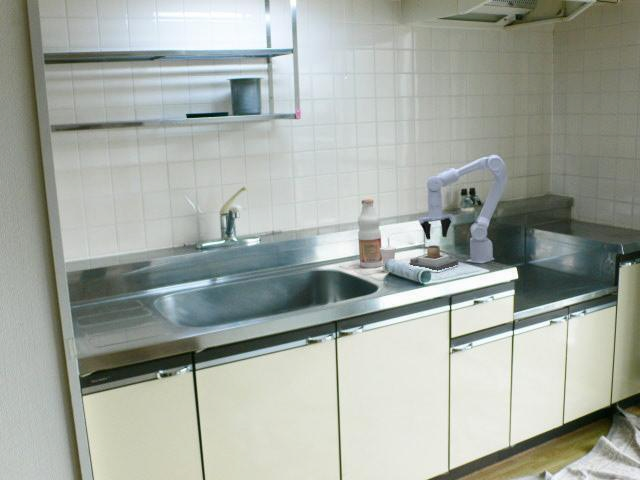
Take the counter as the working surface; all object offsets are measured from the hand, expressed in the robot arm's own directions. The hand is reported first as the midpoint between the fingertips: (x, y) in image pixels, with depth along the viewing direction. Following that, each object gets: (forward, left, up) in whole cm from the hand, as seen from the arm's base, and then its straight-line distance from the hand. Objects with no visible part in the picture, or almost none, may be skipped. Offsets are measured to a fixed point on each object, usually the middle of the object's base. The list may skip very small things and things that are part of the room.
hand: (436, 238), depth 285 cm
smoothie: (+22, -8, -11) cm, 26 cm away
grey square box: (+8, +4, -10) cm, 14 cm away
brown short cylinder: (+8, +4, -8) cm, 12 cm away
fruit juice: (+18, -21, -11) cm, 30 cm away
